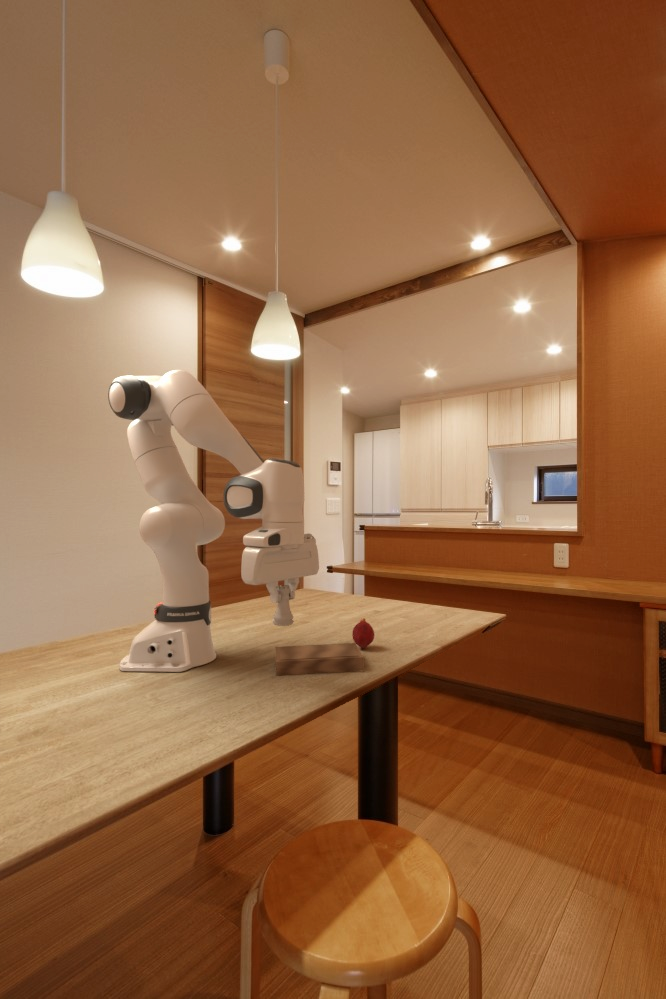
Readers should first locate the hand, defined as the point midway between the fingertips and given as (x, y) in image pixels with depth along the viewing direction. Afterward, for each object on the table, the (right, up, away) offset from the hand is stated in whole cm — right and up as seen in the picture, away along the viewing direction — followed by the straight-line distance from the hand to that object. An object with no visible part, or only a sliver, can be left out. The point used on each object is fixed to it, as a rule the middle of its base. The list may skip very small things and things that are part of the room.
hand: (282, 600), depth 104 cm
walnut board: (+7, -18, +13) cm, 24 cm away
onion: (+19, -18, +26) cm, 37 cm away
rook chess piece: (0, -5, 0) cm, 5 cm away
